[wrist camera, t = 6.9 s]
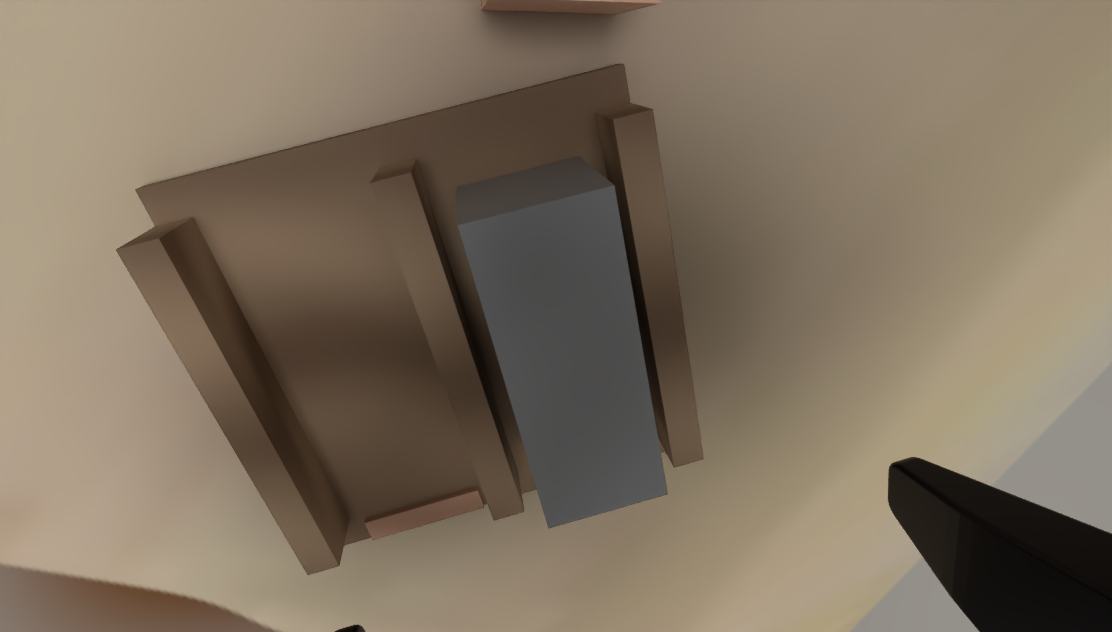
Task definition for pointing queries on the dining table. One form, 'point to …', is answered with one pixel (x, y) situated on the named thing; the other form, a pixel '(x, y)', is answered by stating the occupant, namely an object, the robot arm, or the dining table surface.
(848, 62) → the dining table surface
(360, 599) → the dining table surface
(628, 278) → the tall slate pillar
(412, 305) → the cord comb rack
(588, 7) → the tall terracotta pillar
